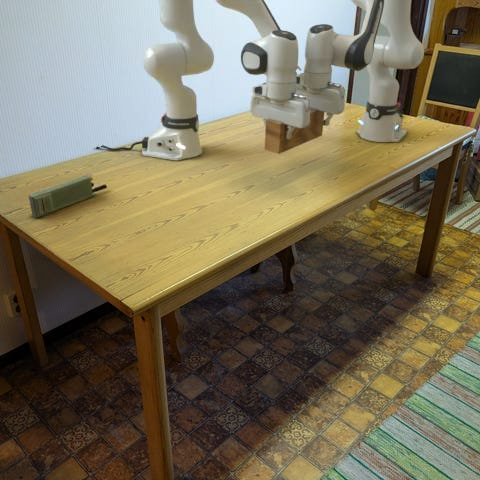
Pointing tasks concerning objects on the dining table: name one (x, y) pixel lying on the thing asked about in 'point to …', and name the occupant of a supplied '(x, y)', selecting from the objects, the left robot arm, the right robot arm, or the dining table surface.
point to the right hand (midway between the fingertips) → (314, 122)
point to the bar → (298, 136)
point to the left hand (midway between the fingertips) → (278, 135)
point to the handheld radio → (62, 195)
